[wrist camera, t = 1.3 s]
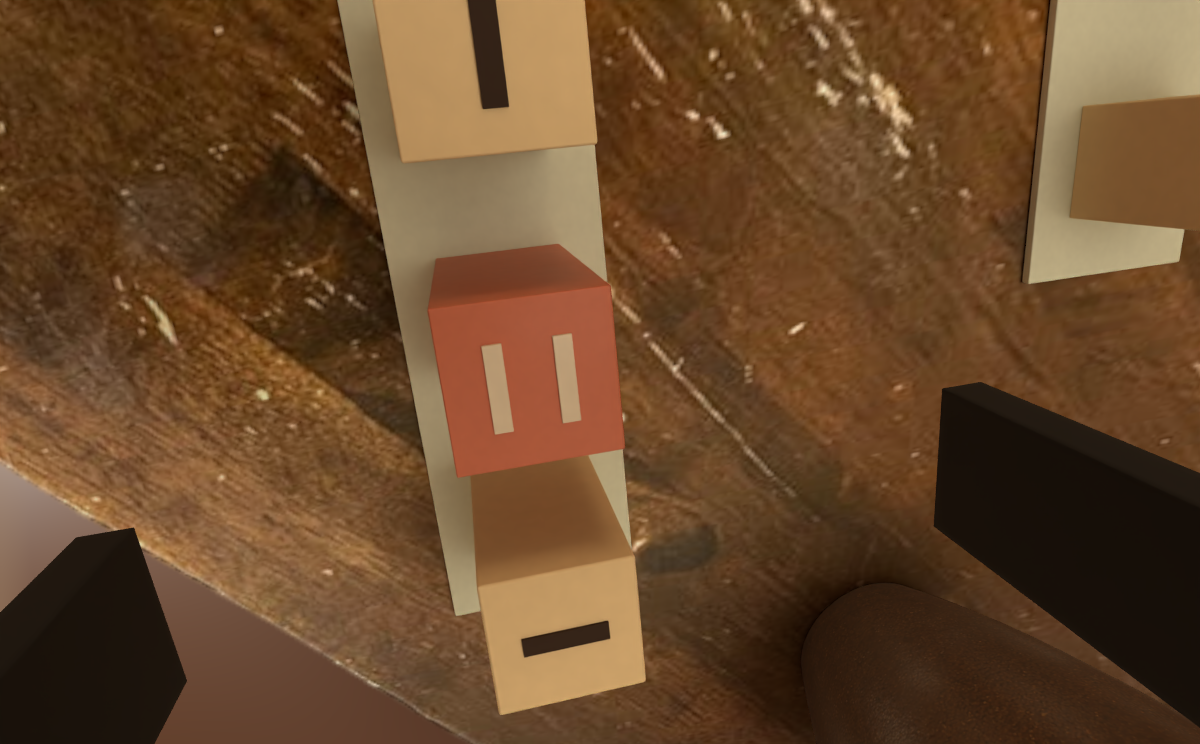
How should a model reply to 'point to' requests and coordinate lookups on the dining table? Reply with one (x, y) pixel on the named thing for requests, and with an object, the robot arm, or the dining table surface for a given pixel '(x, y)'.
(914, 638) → the flower pot
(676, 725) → the dining table surface
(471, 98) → the front word
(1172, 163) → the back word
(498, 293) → the equals sign block
